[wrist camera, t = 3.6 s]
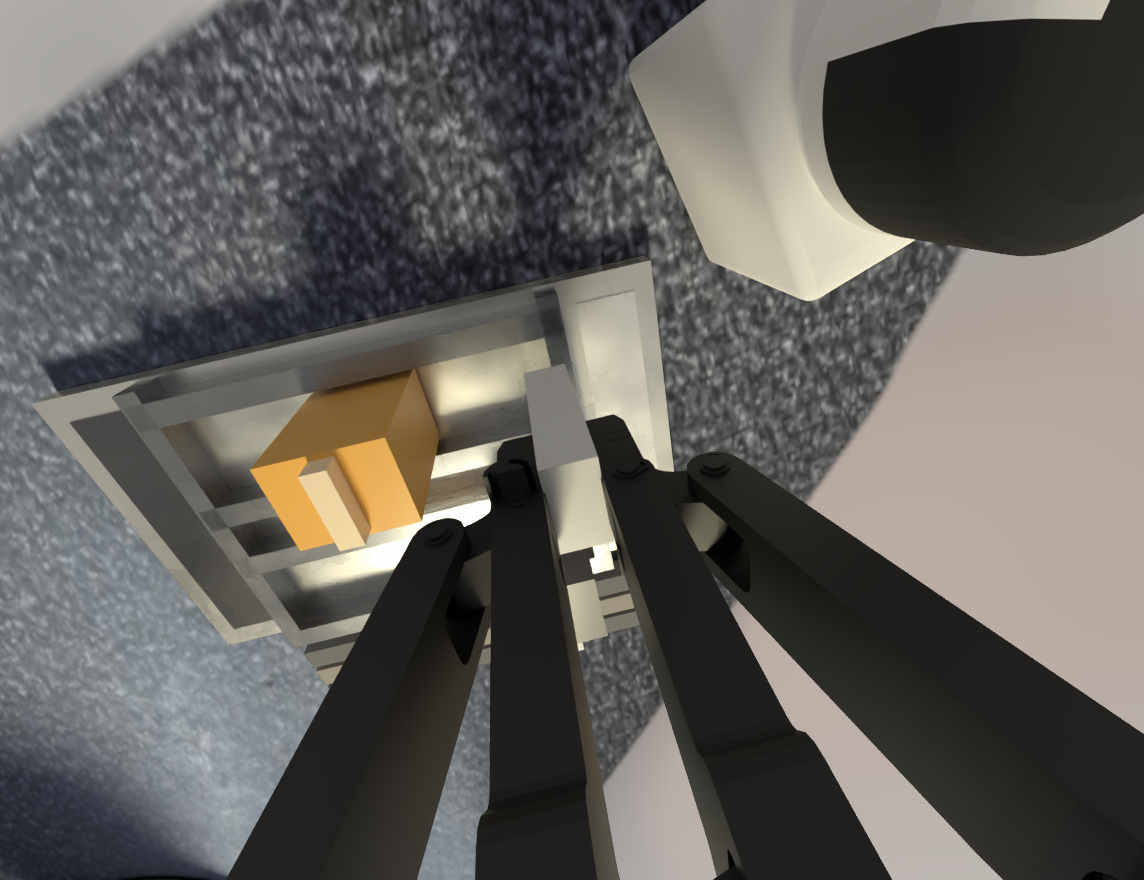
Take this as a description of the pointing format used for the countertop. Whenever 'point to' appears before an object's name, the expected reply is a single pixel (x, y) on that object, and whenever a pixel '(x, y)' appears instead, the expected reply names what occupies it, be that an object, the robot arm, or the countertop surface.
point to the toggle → (583, 596)
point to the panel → (334, 358)
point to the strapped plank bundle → (610, 594)
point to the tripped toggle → (352, 462)
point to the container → (897, 128)
